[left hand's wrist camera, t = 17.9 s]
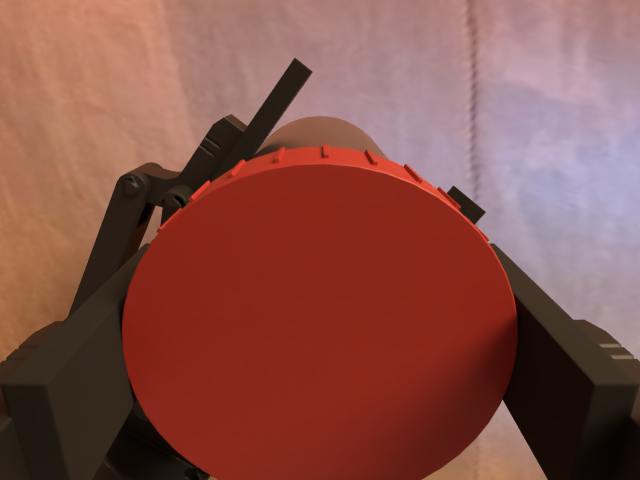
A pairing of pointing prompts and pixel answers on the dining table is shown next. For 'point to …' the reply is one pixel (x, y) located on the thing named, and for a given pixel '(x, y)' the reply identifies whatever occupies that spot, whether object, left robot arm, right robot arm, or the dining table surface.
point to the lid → (319, 322)
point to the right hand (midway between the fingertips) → (390, 135)
